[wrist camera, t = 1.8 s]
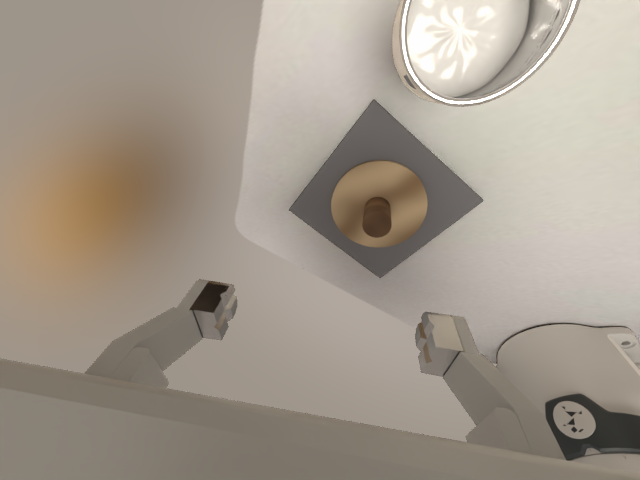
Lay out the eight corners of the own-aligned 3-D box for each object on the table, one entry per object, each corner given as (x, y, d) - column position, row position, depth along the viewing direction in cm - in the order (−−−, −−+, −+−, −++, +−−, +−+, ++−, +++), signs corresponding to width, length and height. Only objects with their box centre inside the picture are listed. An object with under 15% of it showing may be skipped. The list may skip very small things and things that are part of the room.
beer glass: (424, 107, 25) (462, 143, 13) (372, 54, 24) (360, 36, 12) (493, 36, 22) (636, -9, 9) (437, -33, 20) (520, -195, 8)
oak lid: (448, 202, 29) (458, 222, 25) (379, 258, 35) (379, 281, 31) (374, 138, 27) (373, 149, 23) (314, 209, 33) (305, 228, 29)
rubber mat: (481, 198, 29) (483, 200, 28) (380, 275, 37) (380, 278, 37) (373, 99, 26) (373, 99, 25) (290, 208, 34) (288, 210, 34)
